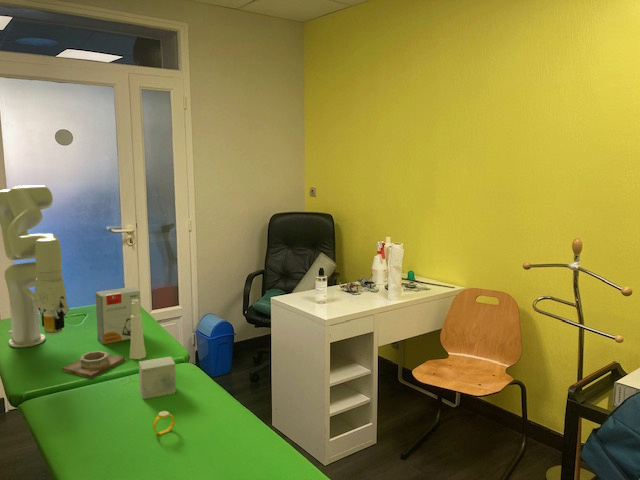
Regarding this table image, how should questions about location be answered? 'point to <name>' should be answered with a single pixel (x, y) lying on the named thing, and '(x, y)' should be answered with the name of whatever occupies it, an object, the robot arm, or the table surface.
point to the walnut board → (93, 370)
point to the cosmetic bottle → (136, 333)
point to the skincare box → (157, 377)
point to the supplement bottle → (50, 323)
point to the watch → (163, 415)
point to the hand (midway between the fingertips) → (53, 326)
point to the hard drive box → (115, 314)
